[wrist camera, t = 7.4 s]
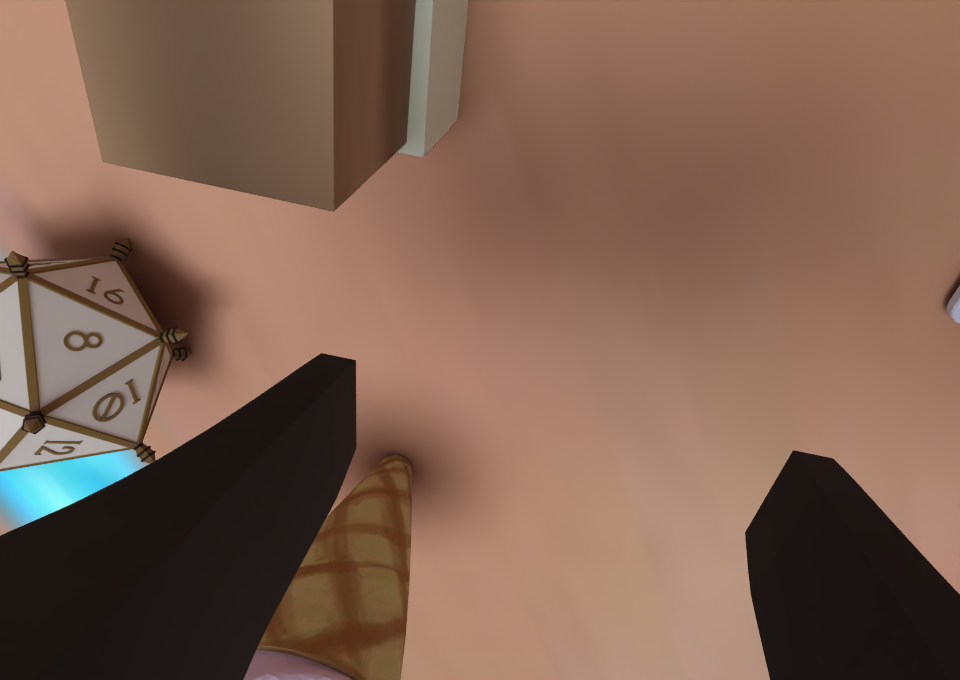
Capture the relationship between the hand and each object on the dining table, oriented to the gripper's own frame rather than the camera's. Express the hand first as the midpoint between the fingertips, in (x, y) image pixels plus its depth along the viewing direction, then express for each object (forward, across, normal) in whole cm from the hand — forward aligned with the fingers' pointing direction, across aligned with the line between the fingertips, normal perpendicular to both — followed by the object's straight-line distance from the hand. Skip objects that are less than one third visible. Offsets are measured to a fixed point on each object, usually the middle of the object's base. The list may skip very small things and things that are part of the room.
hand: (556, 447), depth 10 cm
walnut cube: (+7, +7, -5) cm, 11 cm away
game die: (+11, +17, +7) cm, 21 cm away
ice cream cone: (+11, +6, +13) cm, 18 cm away
